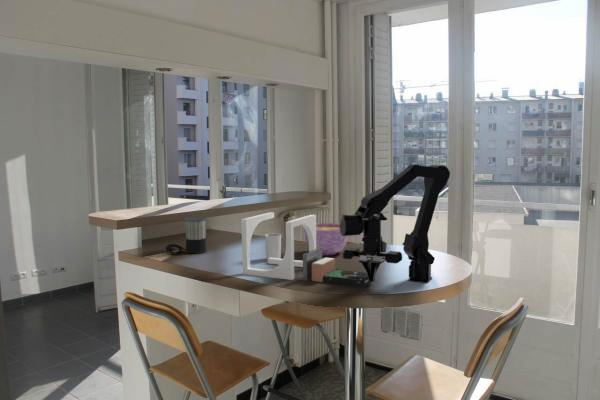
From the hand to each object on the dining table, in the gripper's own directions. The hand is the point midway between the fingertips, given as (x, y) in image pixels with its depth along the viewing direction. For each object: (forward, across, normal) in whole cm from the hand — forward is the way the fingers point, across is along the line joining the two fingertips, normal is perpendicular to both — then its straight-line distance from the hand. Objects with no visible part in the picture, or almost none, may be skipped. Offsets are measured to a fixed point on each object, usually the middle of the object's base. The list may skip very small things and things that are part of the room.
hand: (372, 280), depth 168 cm
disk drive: (+2, +8, 0) cm, 8 cm away
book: (+1, +18, 0) cm, 18 cm away
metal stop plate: (+1, +23, 0) cm, 23 cm away
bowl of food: (+1, +34, -37) cm, 50 cm away
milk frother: (+1, +90, -13) cm, 91 cm away
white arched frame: (+1, +37, -3) cm, 37 cm away
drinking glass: (+1, +49, -18) cm, 52 cm away
